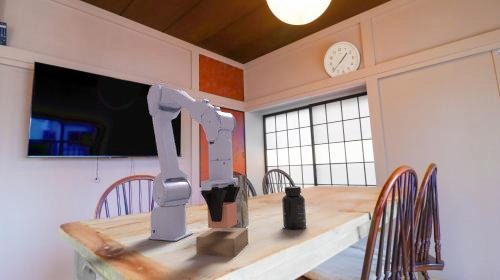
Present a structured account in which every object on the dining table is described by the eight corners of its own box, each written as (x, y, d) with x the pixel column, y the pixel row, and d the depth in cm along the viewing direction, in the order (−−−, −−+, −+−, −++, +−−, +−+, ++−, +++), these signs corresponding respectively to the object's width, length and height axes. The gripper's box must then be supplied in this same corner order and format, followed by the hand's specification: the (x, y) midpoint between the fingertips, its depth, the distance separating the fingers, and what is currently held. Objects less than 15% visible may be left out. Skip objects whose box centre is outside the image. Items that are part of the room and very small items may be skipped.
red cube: (208, 227, 57) (207, 205, 57) (218, 222, 61) (218, 202, 62) (227, 228, 55) (226, 205, 55) (237, 223, 59) (236, 202, 60)
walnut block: (196, 255, 54) (196, 236, 55) (214, 243, 63) (214, 227, 63) (235, 258, 52) (234, 238, 52) (248, 245, 60) (247, 228, 61)
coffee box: (230, 223, 83) (228, 175, 85) (249, 223, 82) (247, 174, 84) (222, 230, 74) (220, 176, 76) (242, 230, 73) (240, 175, 75)
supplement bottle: (278, 228, 74) (276, 187, 76) (292, 223, 79) (290, 185, 80) (297, 231, 70) (294, 188, 71) (311, 226, 74) (308, 186, 75)
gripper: (220, 159, 52) (223, 226, 50) (247, 160, 65) (249, 213, 63) (192, 161, 54) (193, 225, 53) (223, 161, 68) (225, 212, 66)
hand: (222, 218), depth 58 cm, fingers open, 5 cm apart
